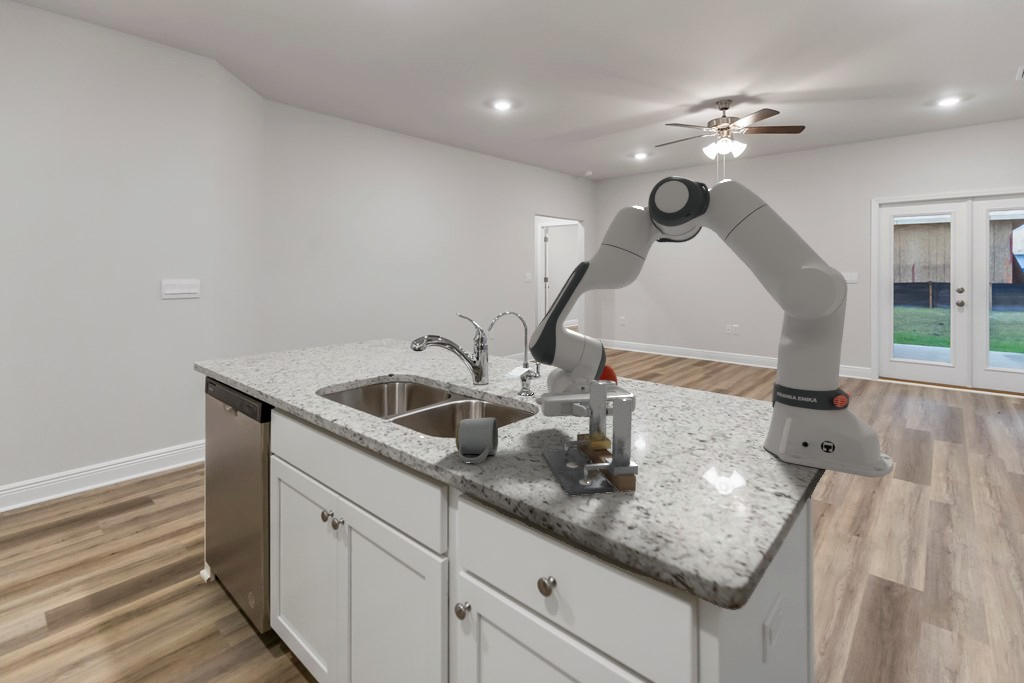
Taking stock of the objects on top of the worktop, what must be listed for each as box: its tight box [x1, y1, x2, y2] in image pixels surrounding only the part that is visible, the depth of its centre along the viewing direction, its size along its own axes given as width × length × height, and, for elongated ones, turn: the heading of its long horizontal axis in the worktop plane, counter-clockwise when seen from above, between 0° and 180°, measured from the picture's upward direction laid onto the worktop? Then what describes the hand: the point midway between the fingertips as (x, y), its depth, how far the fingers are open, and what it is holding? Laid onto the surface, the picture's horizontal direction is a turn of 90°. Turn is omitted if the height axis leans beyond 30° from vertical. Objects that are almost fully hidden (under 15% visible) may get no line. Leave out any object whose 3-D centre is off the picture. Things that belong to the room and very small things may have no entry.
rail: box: [576, 433, 637, 492], centre depth 97 cm, size 24×3×2 cm, turn 10°
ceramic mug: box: [455, 417, 499, 464], centre depth 102 cm, size 11×8×8 cm
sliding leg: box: [563, 381, 612, 456], centre depth 99 cm, size 4×9×14 cm, turn 100°
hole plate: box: [540, 447, 615, 497], centre depth 94 cm, size 20×8×1 cm, turn 10°
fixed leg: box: [584, 397, 639, 481], centre depth 87 cm, size 4×9×14 cm, turn 100°
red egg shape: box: [598, 365, 619, 386], centre depth 149 cm, size 8×8×11 cm
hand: (599, 412), depth 98 cm, fingers closed on sliding leg, 3 cm apart
